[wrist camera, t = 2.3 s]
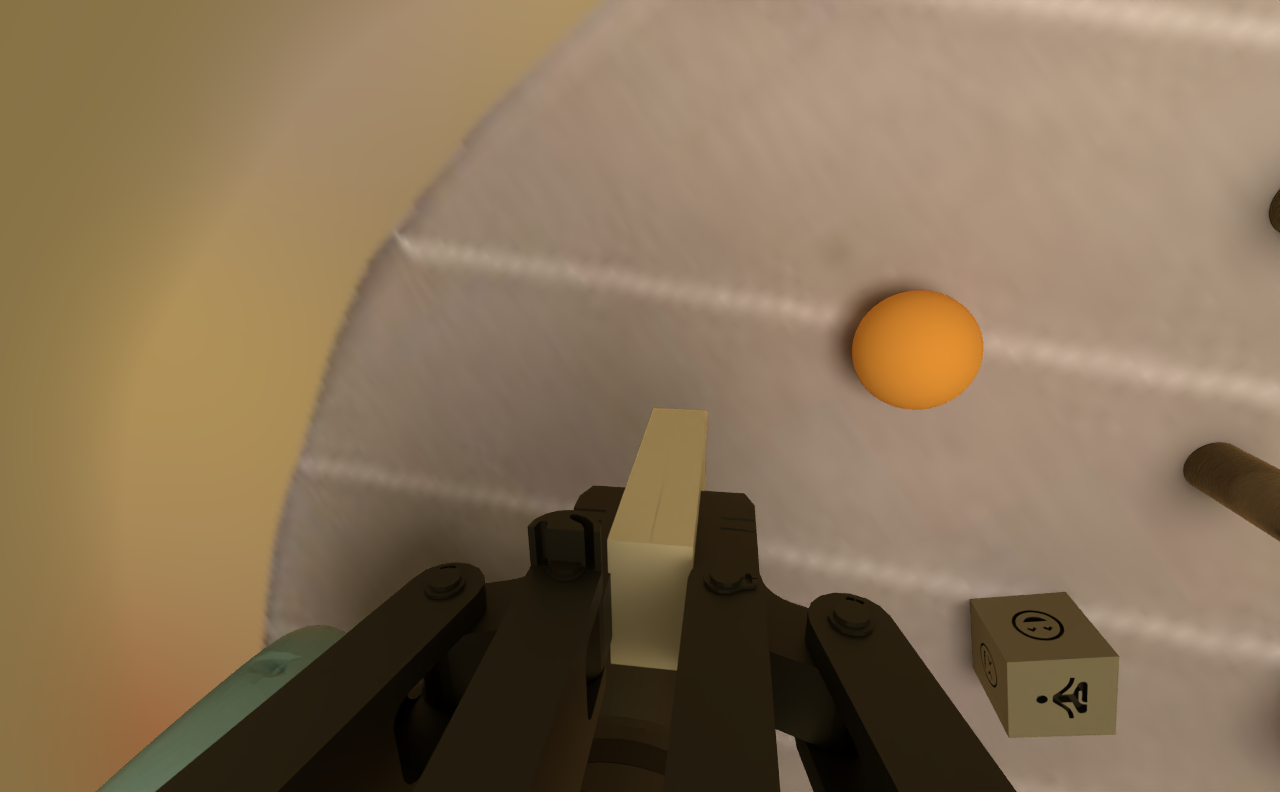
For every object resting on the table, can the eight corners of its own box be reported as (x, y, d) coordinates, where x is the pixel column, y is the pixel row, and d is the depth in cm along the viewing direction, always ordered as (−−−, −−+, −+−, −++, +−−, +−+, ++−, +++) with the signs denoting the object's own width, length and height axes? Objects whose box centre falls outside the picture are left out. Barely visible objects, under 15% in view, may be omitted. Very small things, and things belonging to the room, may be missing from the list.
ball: (837, 385, 31) (858, 424, 26) (848, 281, 29) (873, 300, 24) (947, 389, 30) (991, 430, 25) (966, 282, 29) (1018, 303, 23)
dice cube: (1063, 661, 35) (1115, 734, 30) (972, 666, 36) (1008, 737, 31) (1064, 590, 33) (1118, 656, 29) (969, 597, 34) (1007, 662, 30)
